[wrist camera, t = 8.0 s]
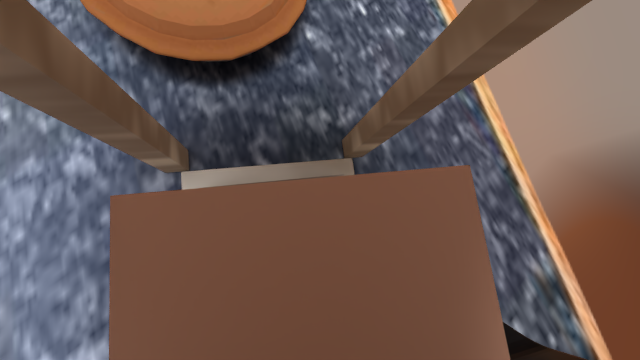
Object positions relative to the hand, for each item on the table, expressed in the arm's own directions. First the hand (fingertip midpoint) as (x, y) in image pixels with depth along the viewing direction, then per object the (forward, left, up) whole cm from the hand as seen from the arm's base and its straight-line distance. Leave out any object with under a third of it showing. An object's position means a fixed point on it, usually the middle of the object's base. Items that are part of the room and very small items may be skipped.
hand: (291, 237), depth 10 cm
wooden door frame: (-1, 0, -9) cm, 9 cm away
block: (-1, -1, -7) cm, 7 cm away
